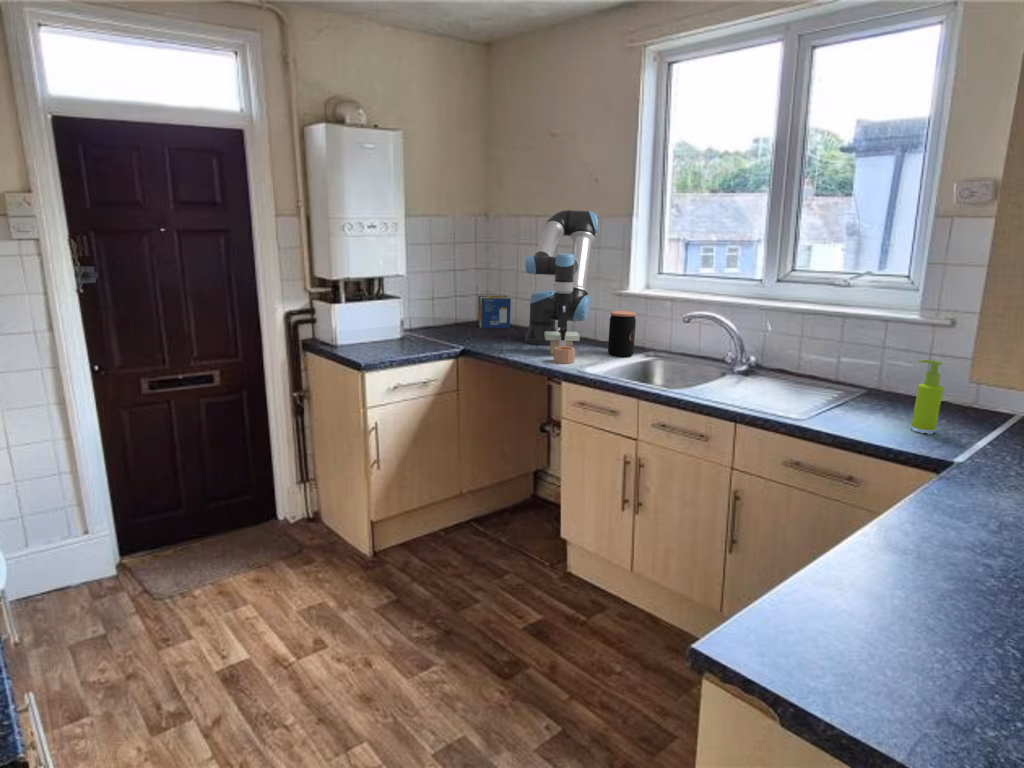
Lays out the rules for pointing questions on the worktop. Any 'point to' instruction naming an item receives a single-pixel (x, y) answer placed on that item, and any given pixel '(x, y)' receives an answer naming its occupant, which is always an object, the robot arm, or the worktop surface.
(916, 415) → the soap dispenser
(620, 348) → the coffee jar
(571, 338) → the lid
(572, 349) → the terracotta faceted pot
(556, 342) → the riser
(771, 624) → the worktop surface
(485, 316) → the protein box
